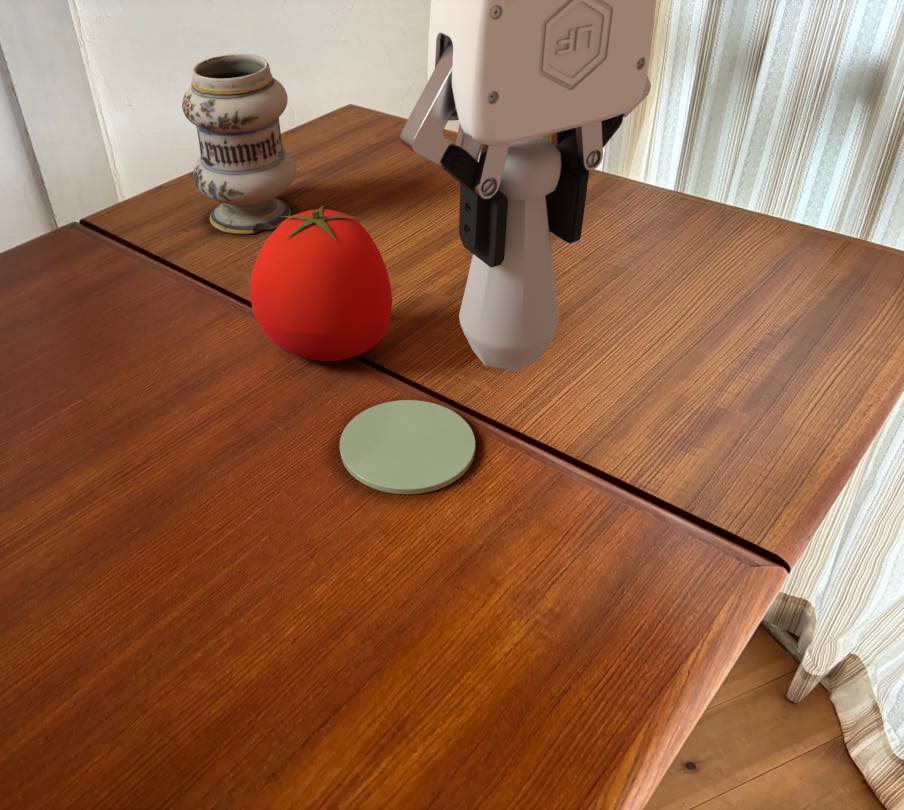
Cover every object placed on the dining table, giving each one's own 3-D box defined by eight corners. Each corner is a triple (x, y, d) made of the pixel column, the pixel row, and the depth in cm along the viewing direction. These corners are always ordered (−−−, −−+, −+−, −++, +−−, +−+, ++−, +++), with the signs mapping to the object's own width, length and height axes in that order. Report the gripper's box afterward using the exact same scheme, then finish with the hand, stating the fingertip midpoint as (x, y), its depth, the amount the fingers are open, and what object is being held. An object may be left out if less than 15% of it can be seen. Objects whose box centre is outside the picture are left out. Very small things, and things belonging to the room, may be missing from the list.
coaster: (487, 416, 71) (488, 411, 71) (458, 506, 63) (458, 501, 63) (364, 396, 74) (363, 390, 74) (320, 479, 66) (320, 474, 66)
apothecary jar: (223, 249, 97) (196, 90, 86) (187, 210, 105) (159, 61, 94) (317, 222, 101) (303, 67, 90) (275, 187, 110) (258, 41, 99)
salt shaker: (546, 386, 49) (568, 171, 40) (448, 371, 50) (451, 161, 42) (561, 331, 53) (585, 126, 45) (471, 318, 54) (478, 118, 46)
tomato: (396, 320, 84) (393, 185, 75) (389, 390, 75) (384, 246, 66) (271, 319, 85) (253, 186, 76) (249, 388, 76) (226, 246, 67)
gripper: (420, -123, 29) (421, 319, 41) (774, -167, 35) (687, 233, 46) (329, -141, 35) (352, 254, 46) (649, -177, 40) (599, 184, 52)
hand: (520, 240), depth 46 cm, fingers closed on salt shaker, 4 cm apart
